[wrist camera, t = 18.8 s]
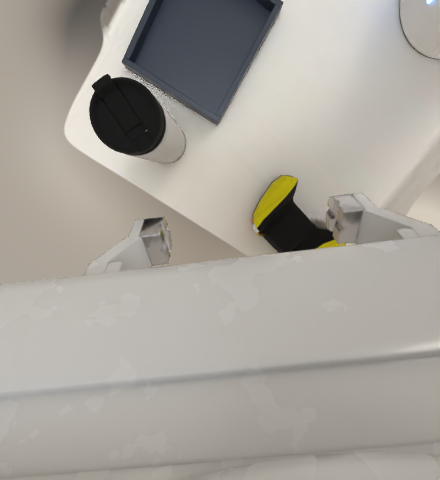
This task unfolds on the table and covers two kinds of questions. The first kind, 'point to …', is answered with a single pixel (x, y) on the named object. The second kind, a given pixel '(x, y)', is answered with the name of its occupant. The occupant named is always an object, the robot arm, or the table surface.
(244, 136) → the table surface
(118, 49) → the table surface
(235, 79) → the tray
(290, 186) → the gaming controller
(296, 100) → the table surface
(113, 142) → the travel mug
